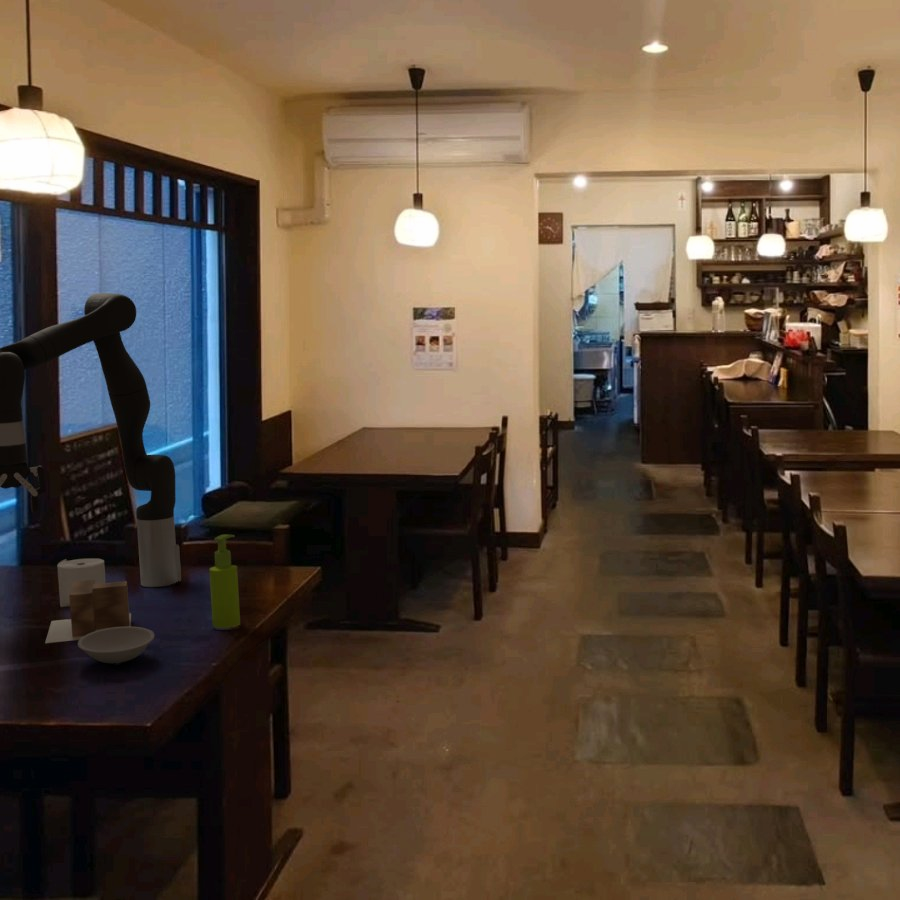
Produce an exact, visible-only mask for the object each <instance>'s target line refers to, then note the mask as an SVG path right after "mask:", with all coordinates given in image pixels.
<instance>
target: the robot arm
mask: <svg viewBox="0 0 900 900" xmlns="http://www.w3.org/2000/svg"><path fill="white" fill-rule="evenodd" d="M136 318H137V308H136V304H135V303H134V301H133V300H132V299H131V298H130V297H128V296H126V295H124V294H122V293H116V292H115V293H114V292H113V293H112V292H96V293H93V294H91V295H89V296H88V298H87V299H86V301H85V303H84V315H83V316H80V317H77V318H76V319H75V318H74V319H72V320H69V321H65V322H61V323H58V324H53V325H51V326H48V327H46V328H44V329H41V330H39V331H37V332H34V333H32V334H31V335H28V336H26V337H24V338H23V339H21V340H19V341H16V342H14V343H11V344H7V345H4V346H2V347H0V489H4V490H5V489H7V490H8V489H10V488H14V489H15V488H16V489H17V488H20V487H24V488H25V489H26V491H28V493H29V494H31V495H30V503H31V504H30V505H31V512H32V514H36V512H37V511H39V509H40V508H39V507H40V506H39V495H41V494H43V493H46V491H47V488H46V486H47V485H46V480H45V474H44V468H43V466H42V465H41V464H40V465H37V466H32V467H30V466H29V465H28V454H27V445H26V444H27V443H26V442H27V441H26V440H27V439H26V438H27V437H26V432H25V427H24V422H23V410H22V398H23V393H24V387H25V380H26V372H25V371H26V370H31V369H37V368H39V367H41V366H44V365H46V364H49V362H51V361H53V360H56V359H58V358H59V357H61V356H63V355H65V354H67V353H68V352H71V351H73V350H75V349H77V348H79V347H82V346H85V345H87V344H88V343H91V342H93V344H94V347H95V349H96V351H97V355H98V358H99V362H100V365H101V369H102V373H103V377H104V380H105V383H106V388H107V393H108V397H109V401H110V406H111V408H112V411H113V414H114V418H115V423H116V427H117V431H118V434H119V435H118V436H119V440H120V445H121V451H122V458H123V464H124V470H125V475H126V478H127V482H128V484H129V486H131V488H132V489H134V490H136V491H141V492H142V491H144V492H145V491H146V492H150V500H149V501H147V502H146V503H144V504H141V505H139V506H137V508H136V511H135V513H136V514H135V516H136V529H137V543H138V558H139V572H140V574H139V575H140V578H139V579H140V585H141V586H142V587H147V588H159V587H168V586H172V585H174V583H175V584H177V583H179V582H182V572H181V568H182V567H181V558H180V557H181V556H180V555H181V554H180V553H181V552H180V546H179V544H176V529H175V527H176V526H175V506H176V470H175V464H174V462H173V460H172V458H171V457H169V456H168V455H165V454H164V455H163V454H147V452H146V449H145V445H144V444H145V443H144V438H143V437H144V436H143V432H144V427H145V425H146V422H147V419H148V417H149V413H150V410H151V400H150V395H149V394H150V393H149V391H148V388H147V384H146V380H145V377H144V375H143V373H142V372H141V370H140V368H139V367H138V365H137V364H136V363H135V360H133V358H132V357H131V356H130V354H129V353H128V351H127V349H126V348H125V345H124V342H123V338H122V335H121V332H124V331H126V330H128V329H130V328H131V327H132V326H133V324H134V323H135V321H136ZM31 473H33V475H34V476H35V477H37V481H38V485H39V486H38V487H37V488H35V487H34V486H33V485H32V484H31V483H30V482H29V480H27V479H28V477H29V476H30V474H31ZM178 581H179V582H178ZM176 582H177V583H176ZM171 584H172V585H171Z"/></svg>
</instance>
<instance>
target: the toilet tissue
mask: <svg viewBox="0 0 900 900" xmlns="http://www.w3.org/2000/svg"><path fill="white" fill-rule="evenodd" d="M105 569H106V568H105V560H104V559H101V558H77V559H72V560H67V558H65V559H63V560H61V561H60V562H58V564H57V579H58V592H59V605H60V608H64V607H70V598H69V595H70V591H71V587H72V583H73V582H74V581H86V580H94V582H95V584H99V583H107V582H106V571H105Z"/></svg>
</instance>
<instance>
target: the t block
mask: <svg viewBox="0 0 900 900" xmlns="http://www.w3.org/2000/svg"><path fill="white" fill-rule="evenodd" d="M128 591H129V588H128V580H124V581H111V582H106V583H99V584H95V582H94V580H86V581H74V582H73V583H72V587H71V591H70V595H69V598H70V606H69V609H70V619H71V625H72V637H79V636H85V635H87V634H89V633H92V632H95V630H96V629H106V628H113V627H125V626H130V618H129V613H130V606H129V605H130V604H129V603H130V602H129V592H128Z"/></svg>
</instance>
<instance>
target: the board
mask: <svg viewBox="0 0 900 900" xmlns="http://www.w3.org/2000/svg"><path fill="white" fill-rule="evenodd" d="M129 618H130V626H131V627H132V613H131V612H129ZM106 629H107V628H106ZM98 630H102V629H96V630H95V631H98ZM82 637H83V636H79V637H72V625H71V618H69V619H59V620H58V619H57V620H51V622H50V625H49V628H48V632H47V636H46V639H45V642H44V644H53V643H61V642H62V643H63V642H69V641H72V642H73V641H79V640H80V639H81V638H82Z"/></svg>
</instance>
